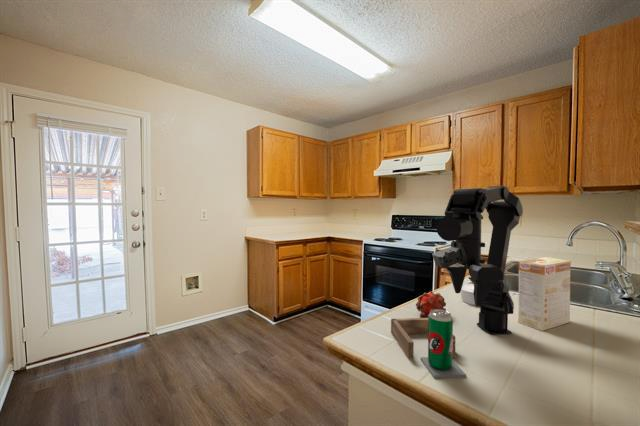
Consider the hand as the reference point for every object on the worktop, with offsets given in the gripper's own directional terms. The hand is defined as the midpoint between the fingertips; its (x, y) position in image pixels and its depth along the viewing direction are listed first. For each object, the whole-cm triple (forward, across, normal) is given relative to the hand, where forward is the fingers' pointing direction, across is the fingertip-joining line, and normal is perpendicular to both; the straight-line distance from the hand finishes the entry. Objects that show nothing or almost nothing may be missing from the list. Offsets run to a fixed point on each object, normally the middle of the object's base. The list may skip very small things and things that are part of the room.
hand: (467, 298), depth 70 cm
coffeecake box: (+13, -14, +33) cm, 38 cm away
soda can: (+12, +8, -11) cm, 18 cm away
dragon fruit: (+13, -21, 0) cm, 25 cm away
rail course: (+13, -3, -10) cm, 17 cm away
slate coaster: (+13, +8, -10) cm, 18 cm away
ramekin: (+13, -33, +23) cm, 42 cm away
